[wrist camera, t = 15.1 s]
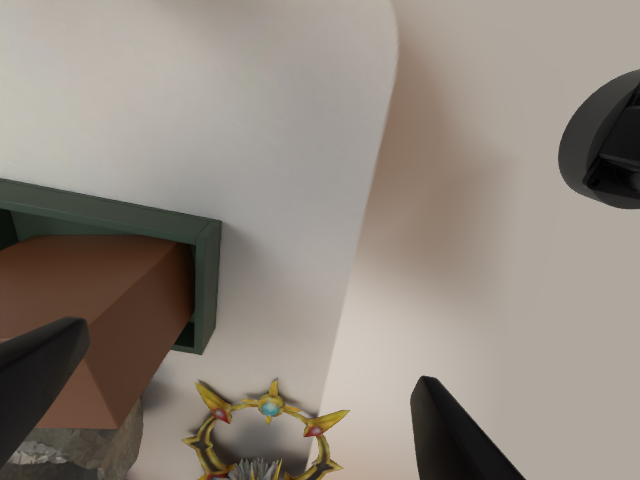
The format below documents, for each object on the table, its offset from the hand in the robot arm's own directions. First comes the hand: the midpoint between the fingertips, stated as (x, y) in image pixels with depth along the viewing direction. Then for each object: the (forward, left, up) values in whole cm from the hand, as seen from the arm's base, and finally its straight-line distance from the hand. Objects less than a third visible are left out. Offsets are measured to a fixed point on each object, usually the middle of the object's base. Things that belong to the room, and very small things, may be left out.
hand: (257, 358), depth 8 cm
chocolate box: (+12, +7, -13) cm, 19 cm away
